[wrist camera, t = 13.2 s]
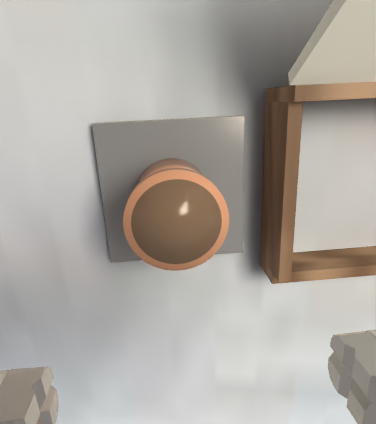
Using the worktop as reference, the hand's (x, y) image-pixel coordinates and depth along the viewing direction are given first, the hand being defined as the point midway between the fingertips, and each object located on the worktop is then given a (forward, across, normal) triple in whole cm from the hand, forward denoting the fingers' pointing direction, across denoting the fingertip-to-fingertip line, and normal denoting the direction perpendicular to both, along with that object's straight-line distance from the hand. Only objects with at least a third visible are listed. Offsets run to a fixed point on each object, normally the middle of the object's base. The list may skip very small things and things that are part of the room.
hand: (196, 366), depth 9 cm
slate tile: (+20, 0, 0) cm, 20 cm away
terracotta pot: (+19, 0, 0) cm, 19 cm away
